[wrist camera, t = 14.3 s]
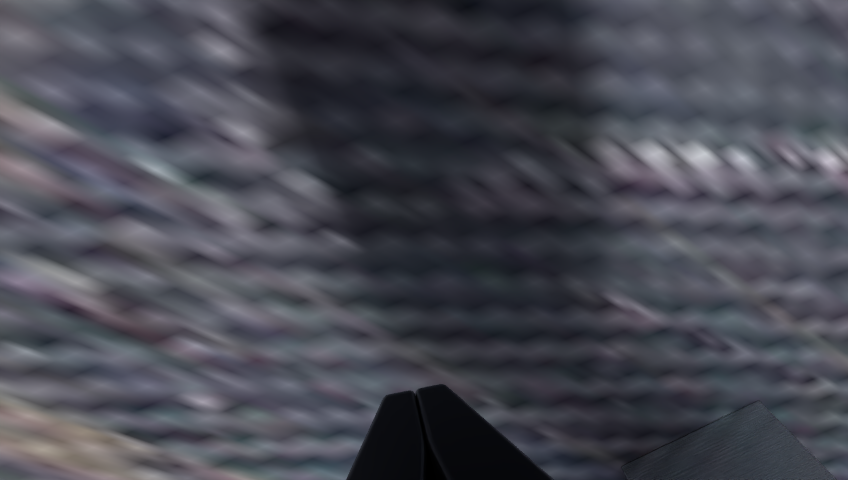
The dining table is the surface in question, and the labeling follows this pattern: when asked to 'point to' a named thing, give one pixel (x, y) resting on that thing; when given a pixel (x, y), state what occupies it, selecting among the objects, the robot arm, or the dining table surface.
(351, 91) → the dining table surface
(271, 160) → the dining table surface
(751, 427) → the box
